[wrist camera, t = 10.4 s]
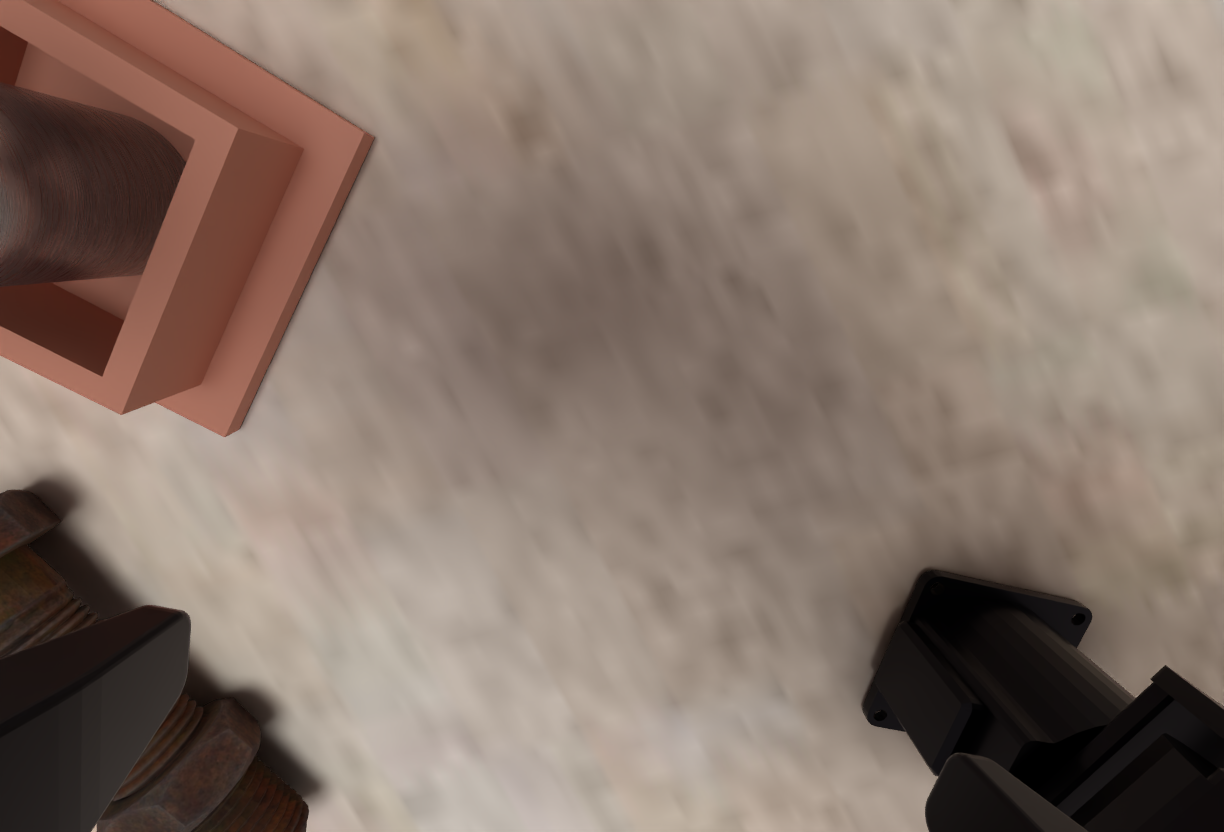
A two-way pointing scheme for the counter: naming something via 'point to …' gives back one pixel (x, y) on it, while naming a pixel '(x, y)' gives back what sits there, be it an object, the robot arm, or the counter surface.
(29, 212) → the steel pin
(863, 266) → the counter surface
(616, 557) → the counter surface
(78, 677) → the robot arm
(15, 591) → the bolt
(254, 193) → the square planter with saucer
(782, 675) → the counter surface
